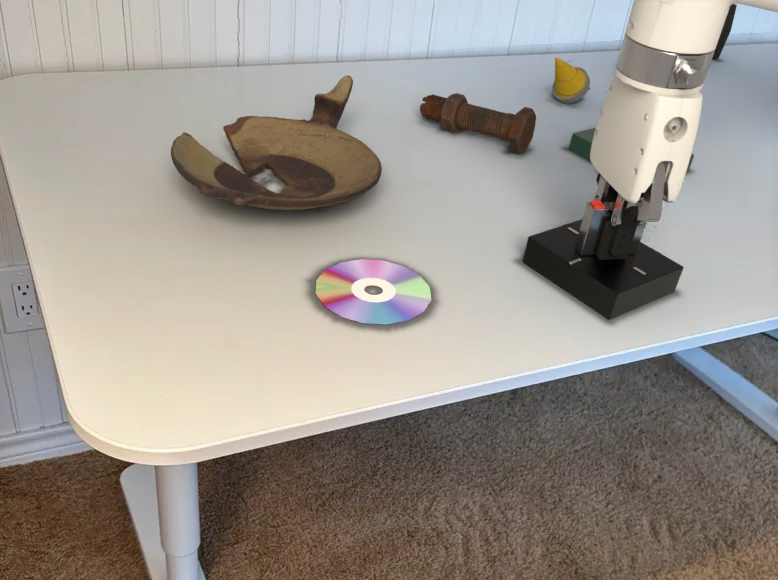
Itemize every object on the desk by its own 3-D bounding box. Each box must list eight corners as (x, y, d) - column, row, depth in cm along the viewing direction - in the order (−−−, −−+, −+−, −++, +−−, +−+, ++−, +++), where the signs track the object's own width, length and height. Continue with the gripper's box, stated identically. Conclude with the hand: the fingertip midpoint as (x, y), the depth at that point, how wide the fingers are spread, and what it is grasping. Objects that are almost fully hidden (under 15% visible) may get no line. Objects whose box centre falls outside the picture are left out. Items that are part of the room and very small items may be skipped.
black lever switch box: (675, 292, 84) (685, 265, 82) (608, 320, 79) (617, 292, 77) (587, 239, 91) (595, 212, 89) (521, 262, 86) (527, 235, 84)
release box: (688, 170, 107) (699, 141, 104) (639, 186, 102) (648, 155, 99) (618, 136, 114) (626, 107, 111) (568, 149, 109) (575, 119, 106)
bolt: (424, 131, 114) (525, 159, 108) (410, 122, 109) (515, 151, 104) (437, 88, 112) (540, 114, 107) (424, 77, 108) (531, 104, 102)
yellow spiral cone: (594, 110, 122) (572, 70, 113) (559, 117, 124) (535, 78, 116) (597, 78, 123) (576, 36, 115) (562, 86, 126) (539, 45, 117)
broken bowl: (126, 187, 91) (118, 119, 86) (321, 123, 108) (324, 63, 103) (262, 272, 80) (262, 199, 75) (454, 185, 98) (464, 122, 93)
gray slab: (629, 246, 84) (645, 198, 80) (636, 254, 83) (652, 206, 79) (574, 247, 83) (587, 199, 79) (580, 255, 82) (594, 207, 78)
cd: (360, 247, 85) (360, 247, 85) (453, 288, 80) (453, 287, 80) (290, 292, 78) (290, 291, 78) (388, 339, 73) (389, 339, 73)
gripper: (752, 97, 66) (677, 292, 78) (658, 33, 77) (605, 212, 89) (668, 97, 64) (604, 297, 76) (585, 31, 76) (541, 214, 88)
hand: (605, 250), depth 83 cm, fingers closed on gray slab
